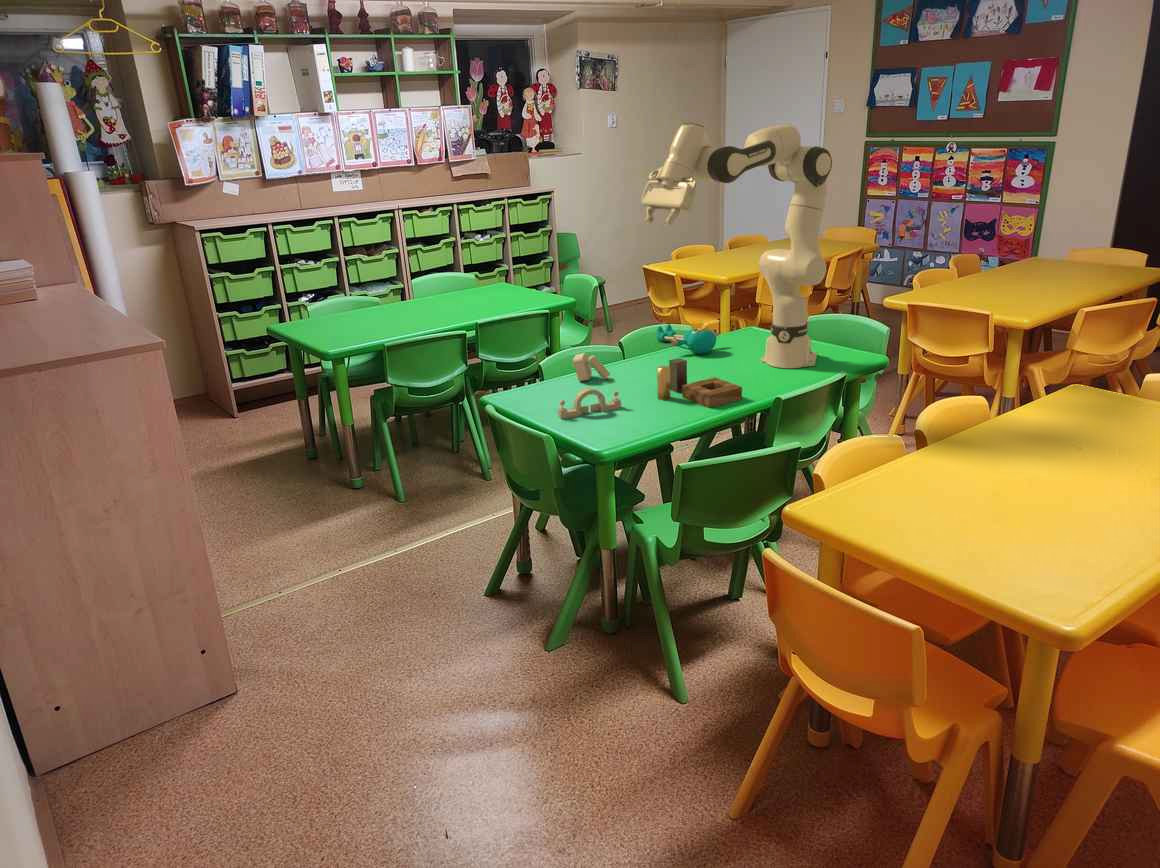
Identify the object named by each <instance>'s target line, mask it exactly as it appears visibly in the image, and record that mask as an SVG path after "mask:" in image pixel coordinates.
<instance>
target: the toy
mask: <svg viewBox="0 0 1160 868" xmlns="http://www.w3.org/2000/svg"><path fill="white" fill-rule="evenodd" d="M719 336H720V334H718V331H716V332H715V329H713V330H711V329H708V328H707V327H703V328H691V329H687V331H686V332H685V333H684V335H683V334H682V335H681V334H677V333H676V331H674V330H673V328H672V325H671V324H669V323H668V324H667V325H666V327H665V331H664V329H663V326H661V325H659V326H657V328H656V339H657V341H658V342H659V343H663V342H666V341H670V342H671V343H669V346H671V347H672V348H673V347H680V346H684V345H685V346H686V347H687V348H688V349H689V350H690V352H693V354H697V355H705V354H707V353H709V352H711V350H713V349H714V348H715V346H716V344H717V339H718V337H719Z"/></svg>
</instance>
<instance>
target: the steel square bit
mask: <svg viewBox="0 0 1160 868" xmlns="http://www.w3.org/2000/svg"><path fill="white" fill-rule="evenodd" d="M668 362H669V363H668V365H669V367H670V392H674V393H676V394H678V393H681V392H682V385H686V384H688V360H686V359H684V358H680V357H677V358H673V359H669V360H668Z"/></svg>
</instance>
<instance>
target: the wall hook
mask: <svg viewBox="0 0 1160 868" xmlns="http://www.w3.org/2000/svg"><path fill="white" fill-rule="evenodd" d="M572 363H573V364H572V365H573V366H574V370H575V374H576V375H577V379H578V382H580V383H581V382H585V381H588V380H590V379H591V377H592V375H593V372H592V368H593V369H594V371H596V372H597V373H598V375H599V376H600V377H601V378H602V380H603V379H604V380H606V379H607V378H608V377H609V376H610V375H611V372H610V371H609V370H608V369H607V368H606V367H605V366H604V364H603V363H602V362H601V361H600V359H598V357H596V356H595V355H590V356H589V357H588V355H587V352H583V353H578V354H575V355H574V357H573V359H572ZM591 367H592V368H591Z"/></svg>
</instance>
